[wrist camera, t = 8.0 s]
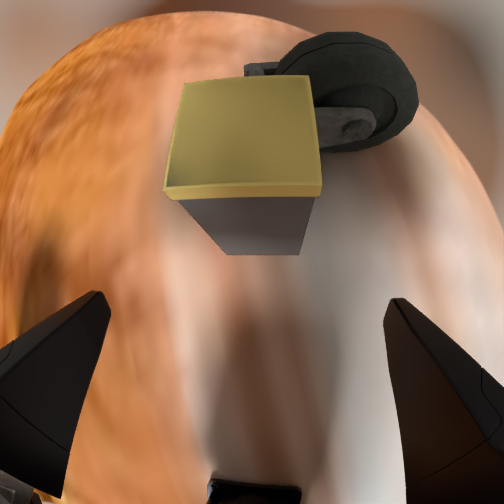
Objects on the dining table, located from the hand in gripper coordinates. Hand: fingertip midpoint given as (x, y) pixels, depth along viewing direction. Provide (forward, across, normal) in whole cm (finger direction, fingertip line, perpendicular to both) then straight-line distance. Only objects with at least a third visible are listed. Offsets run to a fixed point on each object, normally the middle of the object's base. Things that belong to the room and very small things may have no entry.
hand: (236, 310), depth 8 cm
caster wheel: (+15, -2, -2) cm, 16 cm away
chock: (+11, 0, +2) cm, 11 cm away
